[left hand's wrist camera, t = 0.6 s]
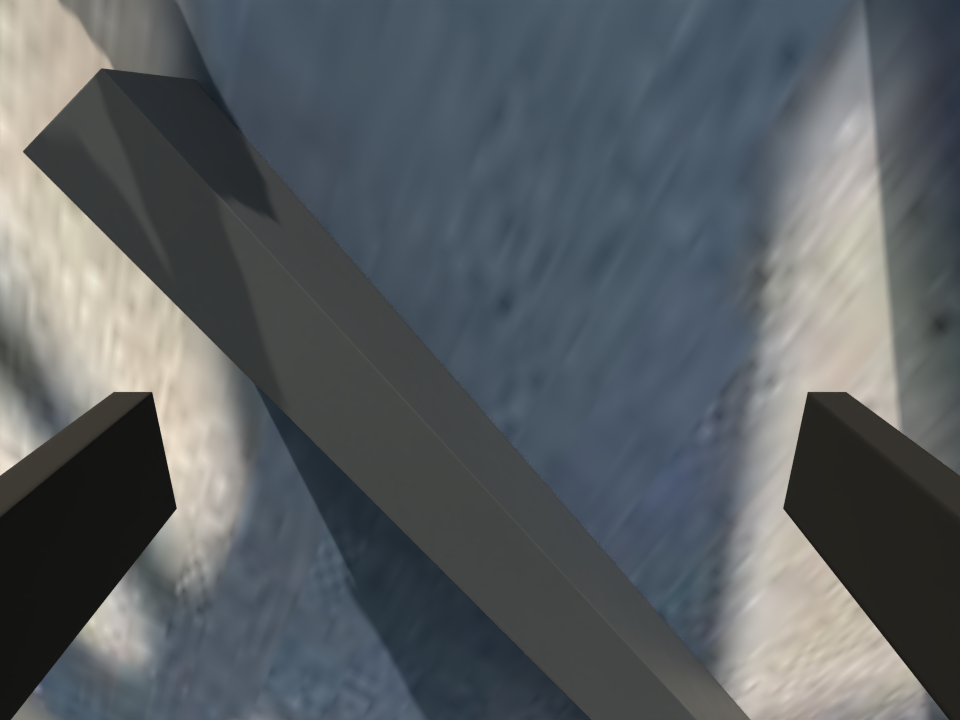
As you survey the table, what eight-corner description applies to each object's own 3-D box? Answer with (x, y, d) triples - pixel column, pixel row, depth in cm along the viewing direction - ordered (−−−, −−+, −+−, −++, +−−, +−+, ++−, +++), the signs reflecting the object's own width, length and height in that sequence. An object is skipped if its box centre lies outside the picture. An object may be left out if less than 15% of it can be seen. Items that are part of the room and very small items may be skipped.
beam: (131, 143, 32) (21, 151, 25) (195, 79, 31) (101, 67, 23) (762, 818, 52) (810, 939, 44) (816, 795, 51) (874, 915, 43)
